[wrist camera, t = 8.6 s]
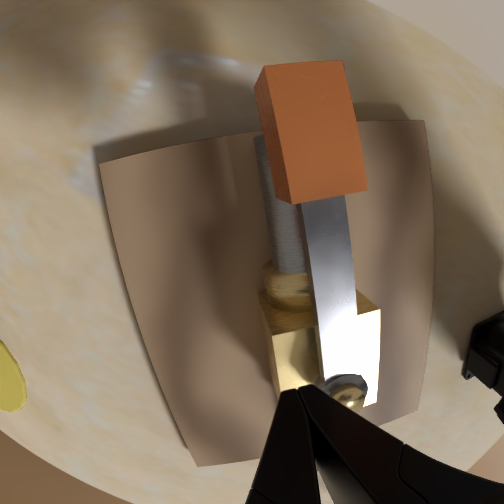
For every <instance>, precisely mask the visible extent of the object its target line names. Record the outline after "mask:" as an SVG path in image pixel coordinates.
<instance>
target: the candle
mask: <svg viewBox="0 0 504 504" xmlns="http://www.w3.org/2000/svg"><path fill="white" fill-rule="evenodd" d="M26 398H27V394H26V385H25V380H24V378H23V376H22V373H21V371H20V369H19V366H18V364H17V362H16V361H15V359H14V358H13V356H12V355H11V353H10V352H9V351H8V349H7V348H6V346H5V345H4V343H3V342H2V341H1V340H0V410H4V411H8V412H12V411H15V410H18V409H21V408H22V406H23V404H24V402H25V400H26Z"/></svg>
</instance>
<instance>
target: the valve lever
mask: <svg viewBox="0 0 504 504" xmlns="http://www.w3.org/2000/svg"><path fill="white" fill-rule="evenodd" d="M254 92H255V96H256V101H257V106H258V110H259V115H260V120H261V125H262V130H263V134H264V139H265V144H266V149H267V154H268V159H269V164H270V169H271V174H272V180H273V185H274V190H275V195H276V198H277V199H279V200H282V201H284V202H287V203H289V204H292V205H293V204H296V210H297V215H298V221H299V227H300V233H301V239H302V245H303V252H304V258H305V265H306V271H307V278H308V285H309V292H310V299H311V306H312V314H313V321H314V329H315V337H316V345H317V354H318V362H319V371H320V375H319V376H318V377H317V379H316V380H315V382H314V385H315V386H317V387H318V388H320V389H321V390H323V391H324V392H325V393H327V394H328V395H330V396H331V397H333V398H334V399H336V400H337V401H339V402H340V403H342V404H343V405H345V406H346V407H348V408H349V409H351V410H353V411H354V412H356V413H357V412H359V411H360V410H361V409H362V407H363V406H364V404H365V400H366V396H367V394H368V384H367V382H366V380H365V379H364V377H363V376H362V375H361V373H360V371H359V339H358V319H357V304H356V291H355V279H354V268H353V258H352V248H351V240H350V231H349V223H348V216H347V208H346V201H345V195H346V194H351V193H356V192H362V191H368V185H367V178H366V172H365V166H364V159H363V154H362V148H361V142H360V137H359V132H358V127H357V122H356V117H355V112H354V108H353V103H352V99H351V94H350V90H349V86H348V82H347V78H346V74H345V70H344V66H343V62H342V60H341V61H315V62H300V63H288V64H278V65H268V66H264V67H263V69H262V71H261V73H260V75H259V77H258V79H257V81H256V83H255V86H254Z"/></svg>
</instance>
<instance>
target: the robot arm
mask: <svg viewBox="0 0 504 504" xmlns="http://www.w3.org/2000/svg"><path fill="white" fill-rule="evenodd" d="M474 376H476V377H477V378H478V379H479V380H480V381H481V382H482V383H484V384H485V385H486V386H487V387H488V388H489V389H492V388H493V389H494V390H495V391H496V392H497V393H498V394H499V395H500V396H502V398H501V400H500V401H499V403H498V404H496V406H495V407H494V410H495V412H496V413H497V416H498V417H499V419H500V420H501V422H502V423H503V424H504V311H503V312H501V313H499V314H497V315H495V316H493V317H491V318H489V319H487V320H485V321H483V322H481V323H479V324H477V325H476V326H475V327H474V329H473V333H472V339H471V344H470V349H469V354H468V358H467V363H466V367H465V371H464V376H463V377H464V378H465V379H466V380H468V379H470V378H472V377H474ZM316 465H317V468H318V470H319V472H320V474H321V477H322V479H323V481H324V483H325V485H326V487H327V489H328V492H329V494H330V496H331V498H332V500H333V502H334V504H504V484H503V483H498V482H494V481H491V480H488V479H484V478H482V477H479V476H476V475H473V474H470V473H467V472H465V471H462V470H459V469H456V468H454V467H451V466H449V465H446V464H444V463H442V462H439V461H437V460H435V459H433V458H431V457H429V456H427V455H425V454H423V453H421V452H419V451H418V450H416V449H414V448H412V447H411V446H409V445H407V444H404V443H403V442H402V441H400V440H399V439H397V438H395V437H394V436H392V435H390V434H389V433H387V432H386V431H384V430H382V429H381V428H379V427H378V426H376V425H374V424H373V423H371V422H370V421H368V420H366V419H365V418H363V417H362V416H360V415H359V414H357V413H356V412H354V411H353V410H351V409H349V408H348V407H346V406H345V405H343V404H342V403H340V402H339V401H337V400H336V399H334V398H333V397H331V396H330V395H328V394H327V393H325V392H324V391H323V390H321V389H320V388H318V387H317V386H315V385H314V384H308V385H304V386H300V387H298V389H296V388H292V389H288V390H284V391H282V392H281V393H280V396H279V399H278V403H277V406H276V410H275V413H274V416H273V420H272V423H271V427H270V430H269V433H268V436H267V440H266V443H265V446H264V449H263V452H262V456H261V459H260V462H259V465H258V468H257V471H256V474H255V477H254V480H253V483H252V486H251V488H252V489H250V491H249V494H248V497H247V500H246V502H245V504H321V500H320V492H319V484H318V477H317V470H316Z"/></svg>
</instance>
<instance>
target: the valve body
mask: <svg viewBox="0 0 504 504" xmlns="http://www.w3.org/2000/svg"><path fill="white" fill-rule="evenodd" d="M253 141H254V147H255V153H256V159H257V165H258V172H259V178H260V184H261V190H262V196H263V203H264V209H265V215H266V222H267V228H268V234H269V241H270V247H271V254H272V260H270V261H268V262H267V263H265V264H264V265H263V267H262V271H263V277H264V284H265V290H266V291H264V292H259V293H257V299H258V305H259V311H260V316H261V322H262V328H263V334H264V340H265V345H266V351H267V357H268V363H269V369H270V374H271V378H272V381H273V385H274V388H275V392H276V395H277V398H278V399H279V396H280V393H281V392H282V391H284V390H288V389H292V388H296V389H298V387H300V386H304V385H308V384H314V382H315V380H316V379H317V377H318V376H319V375H320V371H319V362H318V354H317V345H316V337H315V329H314V321H313V314H312V306H311V299H310V292H309V285H308V278H307V271H306V265H305V258H304V252H303V245H302V239H301V233H300V227H299V221H298V215H297V210H296V204H293V205H292V204H289V203H287V202H284V201H282V200H279V199H277V198H276V195H275V190H274V185H273V180H272V174H271V169H270V164H269V159H268V154H267V149H266V144H265V139H264V134H263V135H259V136H256V137H254V138H253ZM355 291H356V304H357V319H358V339H359V371H360V373H361V375H362V376H363V377H364V379H365V380H366V382H367V384H368V394H367V396H366V400H365V404H364V406H365V405H368V404H371V403H374V402H376V394H377V381H378V365H379V344H380V309H379V308H378V307H377V306H376V305H375V304H373V303H372V302H371V301H370V300H369V299H368V298H367V297H365V296H364V295H363V294H362V293H361V292H360V291H358V290H357V289H356V288H355ZM316 470H317V471H319V470H318V468H317V465H316Z"/></svg>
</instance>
